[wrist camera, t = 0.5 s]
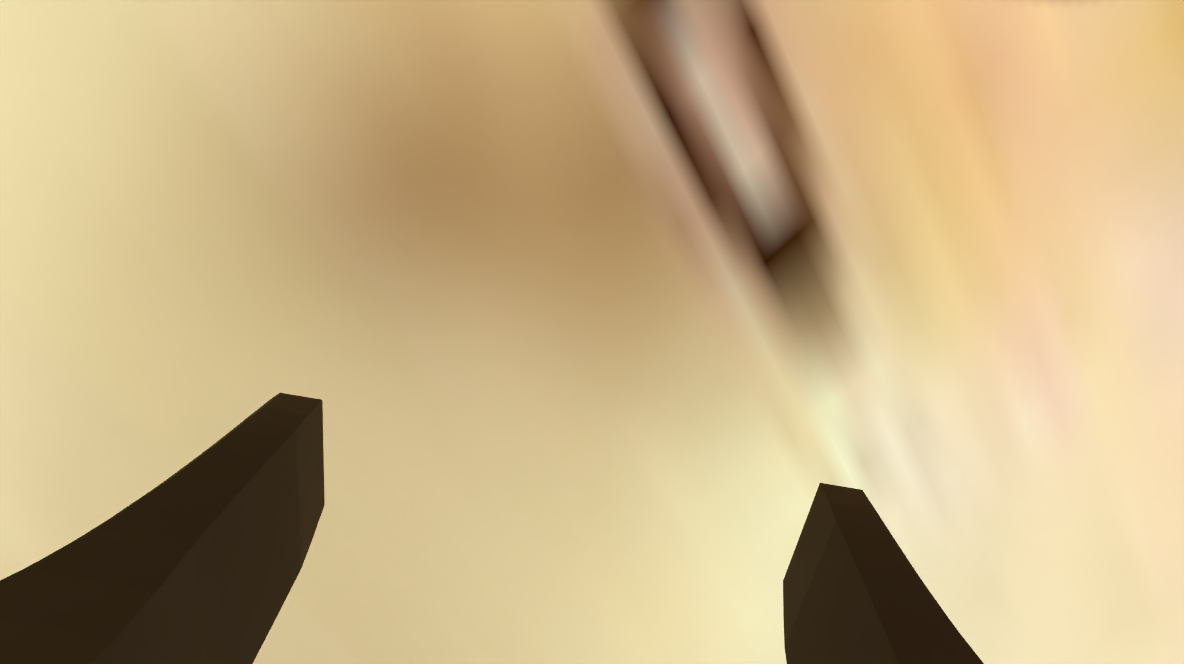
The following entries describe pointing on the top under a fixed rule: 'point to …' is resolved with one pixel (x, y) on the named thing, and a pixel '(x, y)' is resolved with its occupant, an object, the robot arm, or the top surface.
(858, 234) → the top surface
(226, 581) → the robot arm
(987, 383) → the top surface
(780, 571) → the top surface
